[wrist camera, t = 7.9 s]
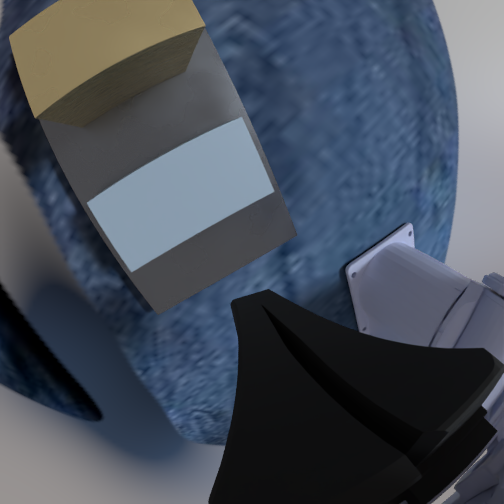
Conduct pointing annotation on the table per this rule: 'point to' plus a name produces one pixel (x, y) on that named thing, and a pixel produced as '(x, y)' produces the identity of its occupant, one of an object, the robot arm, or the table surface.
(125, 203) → the block
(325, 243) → the table surface
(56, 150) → the vise
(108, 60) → the brass block
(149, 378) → the table surface
